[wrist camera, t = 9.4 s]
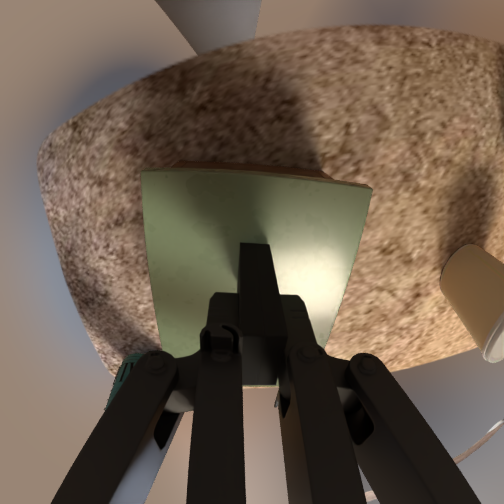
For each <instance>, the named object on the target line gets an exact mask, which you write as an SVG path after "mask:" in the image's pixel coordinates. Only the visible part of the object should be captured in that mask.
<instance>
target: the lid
mask: <svg viewBox="0 0 504 504" xmlns="http://www.w3.org/2000/svg"><path fill="white" fill-rule="evenodd" d="M372 191H373V189H372V188H371V187H369V186H368V185H366V184H360V183H353V182H347V181H340V180H332V179H325V178H317V177H309V176H300V175H291V174H280V173H269V172H257V171H243V170H227V169H204V168H145V169H143V170H142V171H141V192H142V208H143V221H144V233H145V243H146V252H147V261H148V269H149V276H150V283H151V290H152V296H153V303H154V309H155V314H156V320H157V325H158V331H159V336H160V341H161V346H162V350H163V351H166V352H168V353H170V354H172V356H173V357H174V358H179V357H185V356H189V355H192V354H194V353H196V352H197V351H198V350H199V349H200V336H199V335H200V332H201V330H202V329H203V328H204V327H205V326H206V322H207V315H208V307H209V300H210V298H211V297H212V296H213V294H214V293H215V292H227V293H237V280H238V265H239V251H240V242H242V243H259V244H270V249H271V254H272V258H273V263H274V268H275V273H276V278H277V282H278V287H279V292H280V294H293V295H299V296H300V298H301V299H302V300H303V301H304V302H305V305H306V308H307V312H308V315H309V319H310V321H311V324H312V328H313V331H314V334H315V338H316V341H317V344H318V345H320V346H321V347H322V348H323V349H324V348H325V346H326V343H327V341H328V338H329V335H330V333H331V330H332V327H333V325H334V322H335V319H336V316H337V313H338V311H339V308H340V305H341V302H342V299H343V296H344V293H345V290H346V287H347V284H348V280H349V277H350V274H351V271H352V268H353V264H354V261H355V257H356V254H357V251H358V247H359V243H360V240H361V236H362V232H363V228H364V225H365V221H366V217H367V213H368V209H369V204H370V200H371V196H372ZM242 386H250V387H279V383H278V380H277V383H276V385H242Z"/></svg>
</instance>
